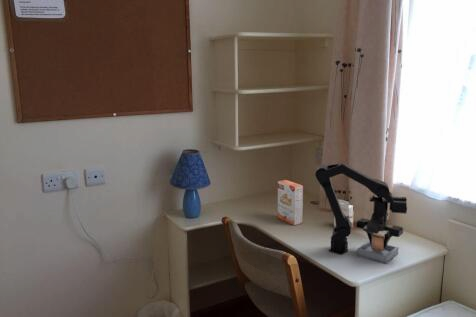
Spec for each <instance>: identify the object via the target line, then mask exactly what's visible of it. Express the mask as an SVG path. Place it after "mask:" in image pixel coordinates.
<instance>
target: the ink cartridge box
mask: <svg viewBox="0 0 476 317" xmlns="http://www.w3.org/2000/svg"><path fill="white" fill-rule="evenodd" d="M338 201H339V204H340V206H341V209H342V211H343V213H344V215H345V216H348V215H349V219H350V221H351V223H352V228H351V229H353V228H354V211H353V206H354V205H351V204H350V202H349V200H348V201H346V200H343V199H339V198H338ZM333 217H334V218H333V227H334V228H335V227H336V222H335V216H334V215H333Z"/></svg>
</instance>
